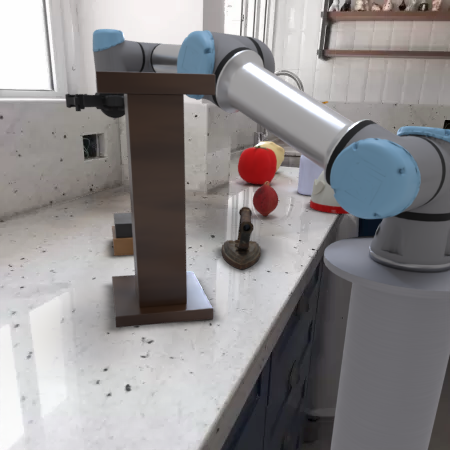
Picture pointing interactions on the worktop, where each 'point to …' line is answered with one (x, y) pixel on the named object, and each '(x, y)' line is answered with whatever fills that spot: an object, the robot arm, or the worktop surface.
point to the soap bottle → (308, 174)
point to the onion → (265, 199)
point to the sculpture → (276, 148)
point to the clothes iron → (242, 244)
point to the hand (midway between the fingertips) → (117, 102)
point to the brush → (122, 234)
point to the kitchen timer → (324, 197)
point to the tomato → (257, 165)
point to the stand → (157, 198)
